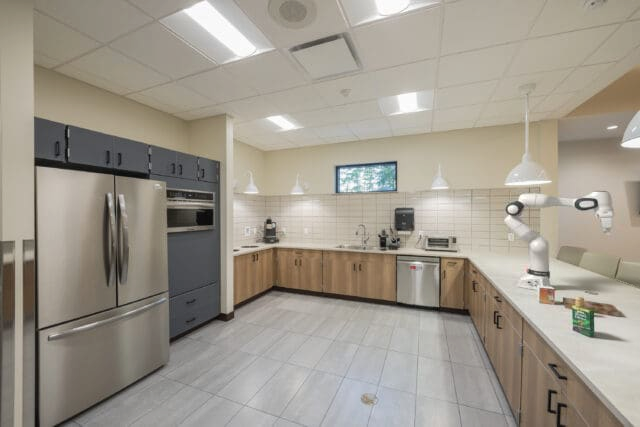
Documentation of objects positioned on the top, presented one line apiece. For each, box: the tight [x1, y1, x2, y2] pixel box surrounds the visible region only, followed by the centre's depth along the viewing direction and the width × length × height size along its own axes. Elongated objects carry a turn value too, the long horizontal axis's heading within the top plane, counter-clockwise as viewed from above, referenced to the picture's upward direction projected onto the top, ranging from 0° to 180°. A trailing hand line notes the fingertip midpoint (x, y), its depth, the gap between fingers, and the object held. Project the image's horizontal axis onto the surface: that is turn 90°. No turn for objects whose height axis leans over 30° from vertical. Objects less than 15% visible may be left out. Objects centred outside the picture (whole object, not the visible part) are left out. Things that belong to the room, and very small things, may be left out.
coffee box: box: [571, 305, 595, 338], centre depth 125 cm, size 8×3×13 cm, turn 6°
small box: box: [536, 285, 556, 306], centre depth 166 cm, size 8×6×10 cm
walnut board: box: [562, 296, 620, 318], centre depth 155 cm, size 22×12×4 cm, turn 52°
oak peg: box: [574, 296, 585, 307], centre depth 147 cm, size 4×4×10 cm
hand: (607, 234), depth 171 cm, fingers open, 8 cm apart
